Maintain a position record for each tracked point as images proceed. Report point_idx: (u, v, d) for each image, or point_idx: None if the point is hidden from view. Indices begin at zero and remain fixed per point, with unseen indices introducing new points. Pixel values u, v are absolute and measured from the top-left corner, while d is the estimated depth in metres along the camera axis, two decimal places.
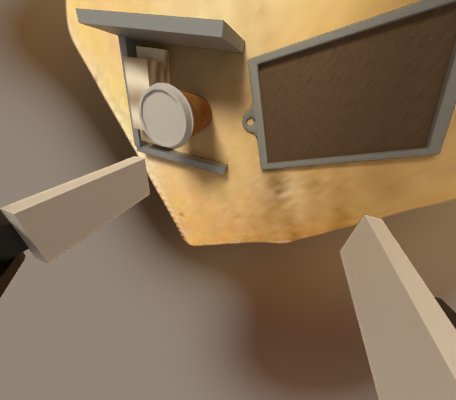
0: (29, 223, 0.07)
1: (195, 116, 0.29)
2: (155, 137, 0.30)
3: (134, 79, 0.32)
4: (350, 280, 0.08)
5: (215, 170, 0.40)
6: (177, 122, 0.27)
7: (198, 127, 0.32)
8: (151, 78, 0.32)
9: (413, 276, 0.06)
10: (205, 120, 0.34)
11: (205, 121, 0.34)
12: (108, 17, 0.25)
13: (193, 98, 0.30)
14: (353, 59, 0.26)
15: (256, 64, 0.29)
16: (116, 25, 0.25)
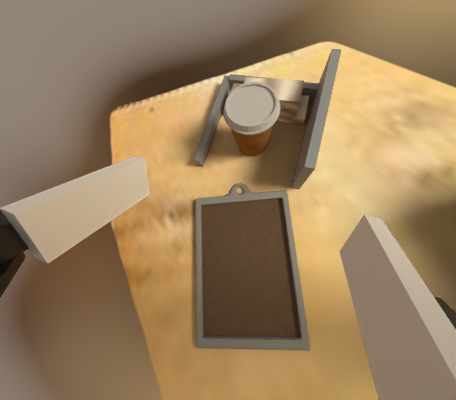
0: (29, 223, 0.07)
1: (249, 137, 0.31)
2: (235, 93, 0.30)
3: (285, 87, 0.36)
4: (350, 281, 0.08)
5: (198, 153, 0.39)
6: (246, 118, 0.29)
7: (240, 139, 0.33)
8: (285, 103, 0.36)
9: (413, 276, 0.06)
10: (245, 149, 0.36)
11: (244, 148, 0.36)
12: (331, 75, 0.30)
13: (264, 139, 0.33)
14: (275, 271, 0.33)
15: (282, 197, 0.35)
16: (325, 81, 0.30)
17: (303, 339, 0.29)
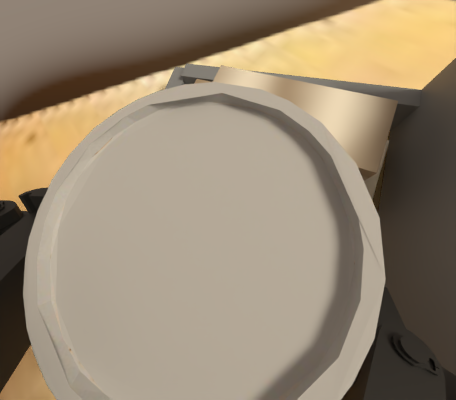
0: None
1: None
2: (113, 146, 0.06)
3: (333, 113, 0.11)
4: None
5: None
6: (142, 338, 0.04)
7: None
8: None
9: None
10: None
11: None
12: None
13: None
14: None
15: None
16: None
17: None
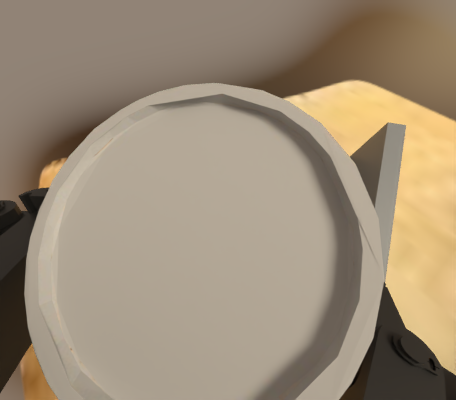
0: None
1: None
2: (113, 146, 0.06)
3: None
4: None
5: None
6: (143, 337, 0.04)
7: None
8: None
9: None
10: None
11: None
12: (390, 179, 0.16)
13: None
14: None
15: None
16: (378, 190, 0.16)
17: None
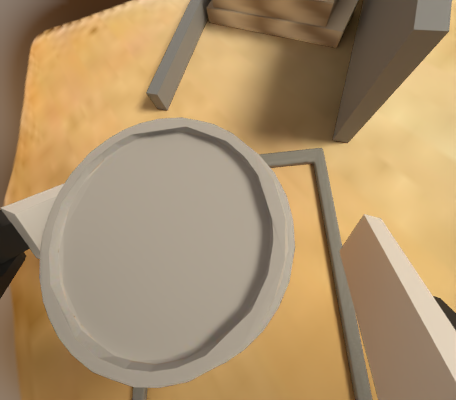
0: (30, 223, 0.07)
1: None
2: (105, 165, 0.07)
3: None
4: (349, 280, 0.08)
5: (156, 80, 0.21)
6: (126, 306, 0.06)
7: None
8: None
9: (412, 275, 0.06)
10: None
11: None
12: None
13: None
14: None
15: (314, 160, 0.18)
16: None
17: None
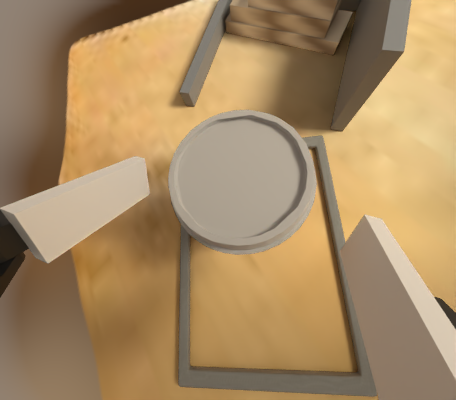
0: (29, 223, 0.07)
1: None
2: (198, 139, 0.12)
3: None
4: (350, 280, 0.08)
5: (187, 82, 0.26)
6: (224, 213, 0.10)
7: None
8: (313, 6, 0.23)
9: (413, 276, 0.06)
10: None
11: None
12: None
13: None
14: None
15: (316, 145, 0.23)
16: None
17: (364, 376, 0.17)
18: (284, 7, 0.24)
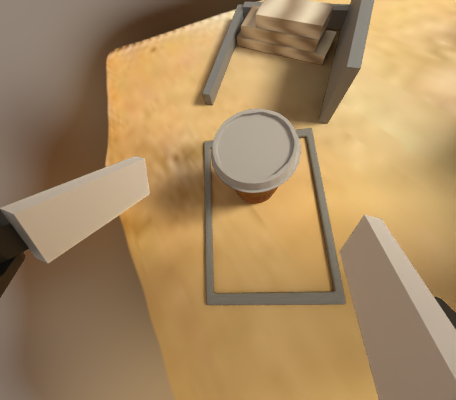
0: (29, 223, 0.07)
1: (251, 192, 0.20)
2: (229, 126, 0.19)
3: (310, 9, 0.30)
4: (350, 280, 0.08)
5: (208, 85, 0.33)
6: (246, 167, 0.18)
7: (237, 190, 0.22)
8: (305, 29, 0.30)
9: (413, 276, 0.06)
10: (245, 198, 0.25)
11: (244, 197, 0.25)
12: None
13: (273, 190, 0.22)
14: None
15: (306, 135, 0.30)
16: None
17: (337, 291, 0.24)
18: (283, 29, 0.32)
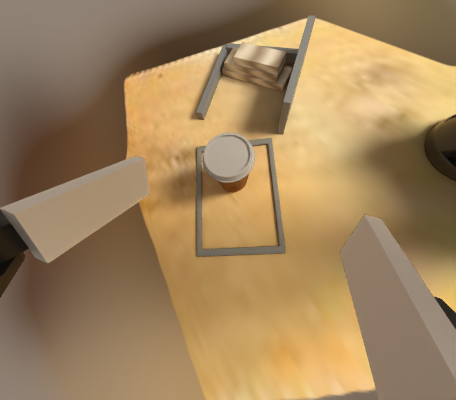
0: (29, 223, 0.07)
1: (225, 182, 0.33)
2: (214, 142, 0.32)
3: (271, 54, 0.43)
4: (350, 281, 0.08)
5: (200, 106, 0.47)
6: (222, 167, 0.31)
7: (218, 181, 0.35)
8: (267, 68, 0.44)
9: (413, 276, 0.06)
10: (224, 187, 0.38)
11: (223, 186, 0.38)
12: (306, 35, 0.38)
13: (241, 182, 0.35)
14: None
15: (267, 142, 0.43)
16: (302, 39, 0.38)
17: (280, 245, 0.37)
18: (253, 67, 0.45)
